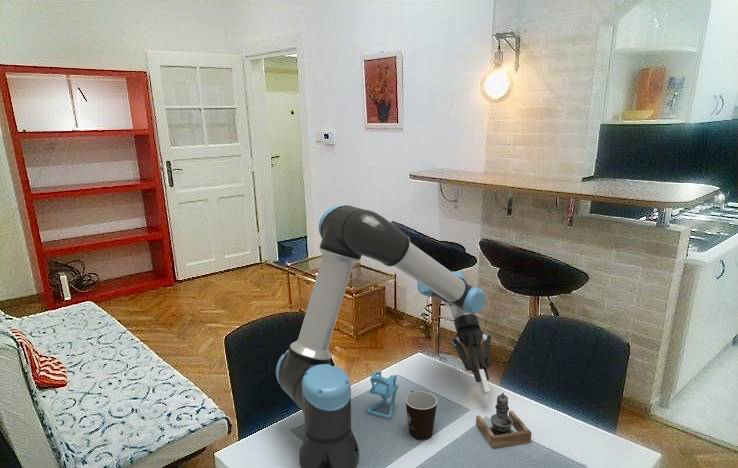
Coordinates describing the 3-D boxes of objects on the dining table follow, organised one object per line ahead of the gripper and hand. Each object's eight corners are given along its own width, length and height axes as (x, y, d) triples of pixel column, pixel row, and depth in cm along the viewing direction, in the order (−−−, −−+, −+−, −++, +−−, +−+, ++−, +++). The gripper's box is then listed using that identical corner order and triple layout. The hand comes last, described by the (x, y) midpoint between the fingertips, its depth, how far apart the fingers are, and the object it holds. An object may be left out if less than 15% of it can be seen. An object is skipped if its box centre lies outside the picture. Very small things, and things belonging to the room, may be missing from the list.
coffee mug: (435, 444, 119) (436, 411, 117) (403, 440, 121) (403, 407, 119) (438, 418, 131) (438, 387, 128) (408, 415, 132) (408, 384, 130)
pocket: (475, 425, 127) (476, 415, 126) (511, 419, 129) (512, 410, 129) (492, 448, 118) (492, 438, 117) (530, 442, 120) (531, 432, 119)
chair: (401, 405, 137) (401, 369, 135) (389, 420, 130) (389, 382, 128) (378, 399, 141) (378, 363, 138) (366, 413, 134) (365, 376, 131)
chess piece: (488, 424, 127) (490, 385, 125) (510, 425, 127) (512, 387, 124) (491, 437, 122) (493, 397, 119) (513, 439, 121) (516, 399, 118)
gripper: (479, 320, 149) (501, 393, 136) (442, 324, 146) (461, 398, 134) (487, 311, 143) (511, 386, 130) (448, 314, 140) (469, 392, 128)
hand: (486, 392), depth 132 cm, fingers closed
